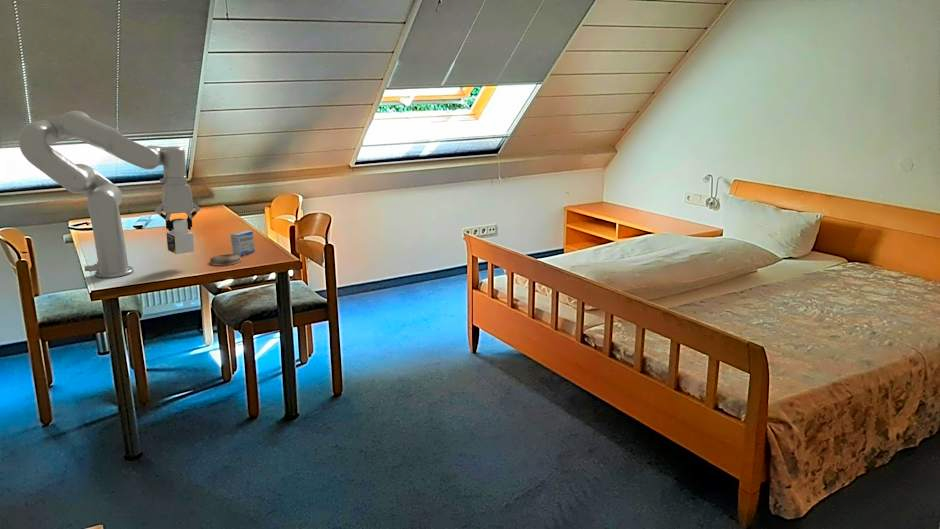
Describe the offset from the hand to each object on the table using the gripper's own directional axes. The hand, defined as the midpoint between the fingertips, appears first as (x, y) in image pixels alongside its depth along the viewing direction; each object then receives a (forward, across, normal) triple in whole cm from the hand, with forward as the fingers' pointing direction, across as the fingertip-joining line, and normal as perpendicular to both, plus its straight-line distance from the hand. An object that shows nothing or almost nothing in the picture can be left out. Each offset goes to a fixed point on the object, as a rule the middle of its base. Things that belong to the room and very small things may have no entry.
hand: (179, 229), depth 256 cm
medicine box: (+14, +25, +9) cm, 30 cm away
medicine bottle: (+8, 0, 0) cm, 8 cm away
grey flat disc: (+14, +16, 0) cm, 21 cm away
